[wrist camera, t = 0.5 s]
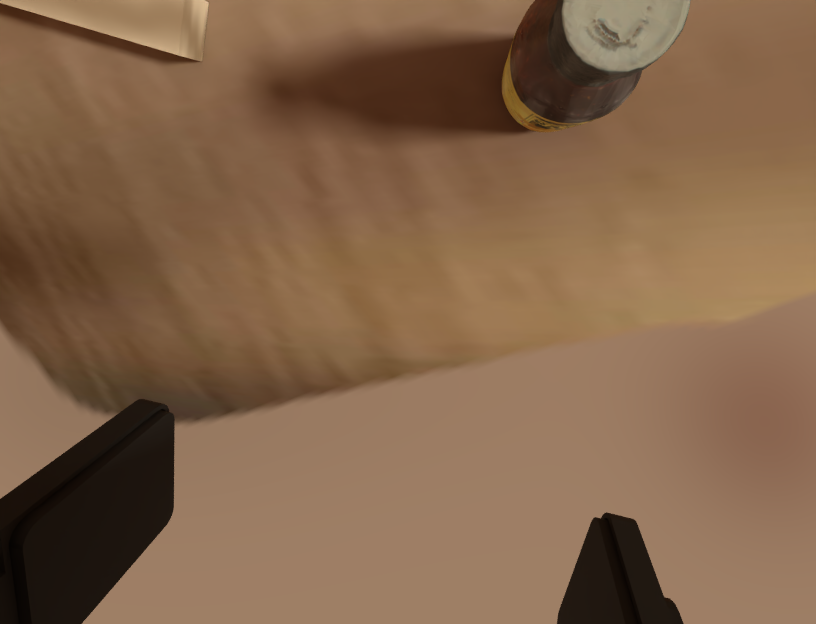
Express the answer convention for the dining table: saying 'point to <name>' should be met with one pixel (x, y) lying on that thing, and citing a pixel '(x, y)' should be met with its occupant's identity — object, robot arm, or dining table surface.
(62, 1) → the pale grey bar
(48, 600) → the robot arm
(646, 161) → the dining table surface
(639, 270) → the dining table surface
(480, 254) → the dining table surface
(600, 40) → the sauce bottle
